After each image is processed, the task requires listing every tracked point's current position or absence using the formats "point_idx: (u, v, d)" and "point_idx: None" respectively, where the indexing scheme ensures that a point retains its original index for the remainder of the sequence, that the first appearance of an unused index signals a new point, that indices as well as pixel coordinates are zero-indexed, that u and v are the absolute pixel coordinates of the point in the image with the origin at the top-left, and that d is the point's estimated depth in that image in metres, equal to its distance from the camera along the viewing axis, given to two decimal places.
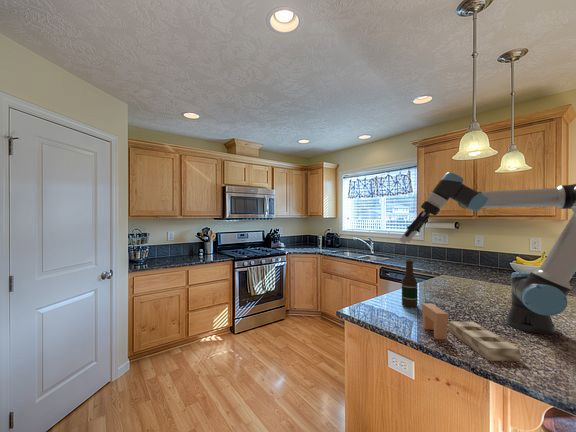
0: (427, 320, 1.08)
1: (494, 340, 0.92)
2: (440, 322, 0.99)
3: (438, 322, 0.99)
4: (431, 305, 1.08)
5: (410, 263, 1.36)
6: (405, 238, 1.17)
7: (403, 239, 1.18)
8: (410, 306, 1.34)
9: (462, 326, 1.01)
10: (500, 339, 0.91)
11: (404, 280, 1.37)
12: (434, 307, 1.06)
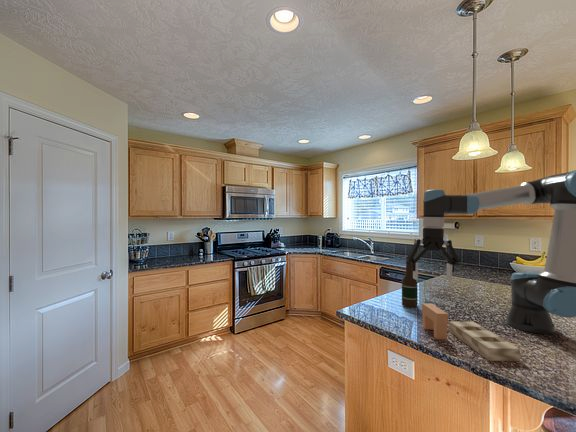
0: (427, 320, 1.08)
1: (494, 340, 0.92)
2: (440, 322, 0.99)
3: (438, 322, 0.99)
4: (431, 305, 1.08)
5: (410, 263, 1.36)
6: (414, 273, 1.06)
7: (414, 275, 1.06)
8: (410, 306, 1.34)
9: (462, 326, 1.01)
10: (500, 339, 0.91)
11: (404, 280, 1.37)
12: (434, 307, 1.06)
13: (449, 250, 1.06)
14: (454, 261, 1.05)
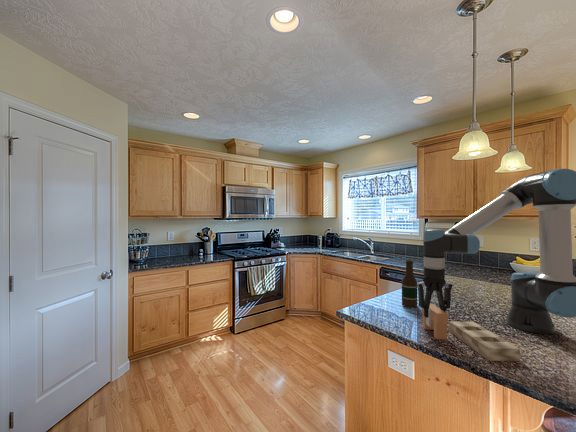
0: None
1: (494, 340, 0.92)
2: (440, 322, 0.99)
3: (438, 322, 0.99)
4: (431, 305, 1.08)
5: (410, 263, 1.36)
6: (427, 320, 1.05)
7: (427, 321, 1.05)
8: (410, 306, 1.34)
9: (462, 326, 1.01)
10: (500, 339, 0.91)
11: (404, 280, 1.37)
12: (434, 307, 1.06)
13: (445, 293, 1.05)
14: (445, 306, 1.04)
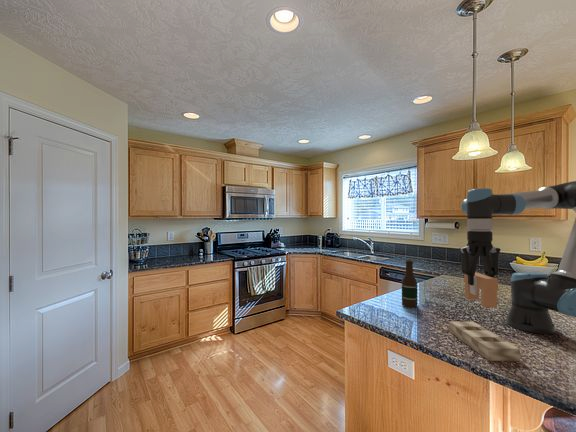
0: None
1: (494, 340, 0.92)
2: (489, 288, 0.90)
3: (487, 288, 0.90)
4: (475, 273, 0.99)
5: (410, 263, 1.36)
6: (472, 288, 0.96)
7: (472, 289, 0.96)
8: (410, 306, 1.34)
9: (462, 326, 1.01)
10: (500, 339, 0.91)
11: (404, 280, 1.37)
12: (479, 274, 0.97)
13: (492, 259, 0.96)
14: None
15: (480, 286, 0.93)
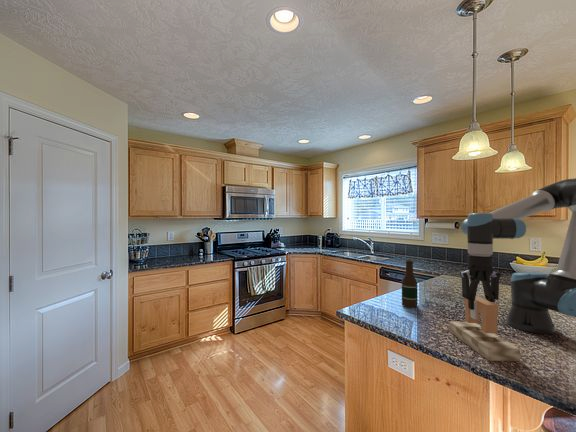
0: None
1: (494, 340, 0.92)
2: (490, 314, 0.90)
3: (488, 314, 0.90)
4: None
5: (410, 263, 1.36)
6: (473, 312, 0.95)
7: (472, 314, 0.96)
8: (410, 306, 1.34)
9: (462, 326, 1.01)
10: (500, 339, 0.91)
11: (404, 280, 1.37)
12: (480, 298, 0.97)
13: (493, 283, 0.95)
14: None
15: (480, 311, 0.92)
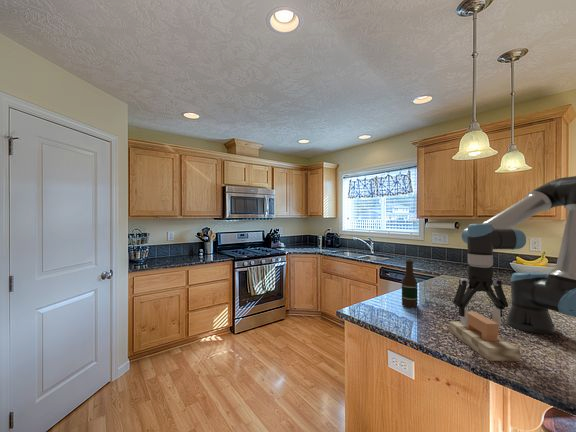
0: (471, 329, 0.99)
1: None
2: (490, 333, 0.90)
3: (488, 333, 0.90)
4: (475, 313, 0.99)
5: (410, 263, 1.36)
6: (463, 319, 0.96)
7: (463, 321, 0.96)
8: (410, 306, 1.34)
9: (462, 326, 1.01)
10: (500, 339, 0.91)
11: (404, 280, 1.37)
12: (480, 316, 0.96)
13: (497, 291, 0.95)
14: (502, 305, 0.95)
15: (481, 329, 0.92)
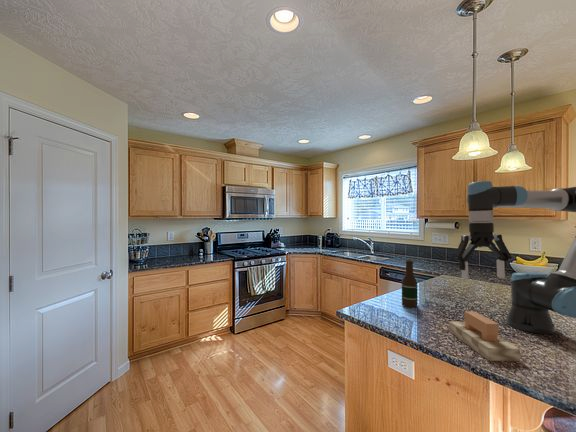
0: (471, 329, 0.99)
1: None
2: (490, 333, 0.90)
3: (488, 333, 0.90)
4: (475, 313, 0.99)
5: (410, 263, 1.36)
6: (464, 273, 0.98)
7: (463, 274, 0.99)
8: (410, 306, 1.34)
9: (462, 326, 1.01)
10: (500, 339, 0.91)
11: (404, 280, 1.37)
12: (480, 316, 0.96)
13: (499, 245, 0.99)
14: (505, 257, 0.98)
15: (481, 329, 0.92)
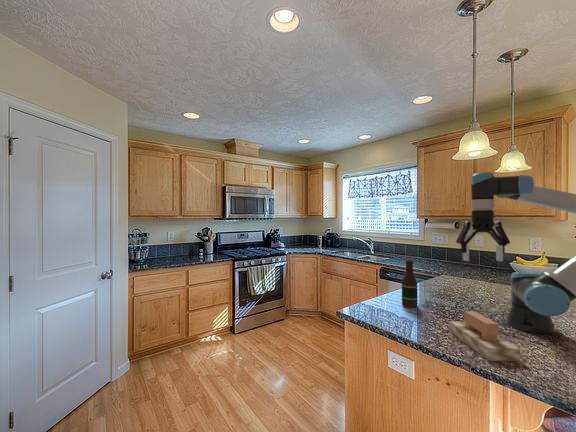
0: (471, 329, 0.99)
1: None
2: (490, 333, 0.90)
3: (488, 333, 0.90)
4: (475, 313, 0.99)
5: (410, 263, 1.36)
6: (465, 255, 1.08)
7: (465, 257, 1.09)
8: (410, 306, 1.34)
9: (462, 326, 1.01)
10: (500, 339, 0.91)
11: (404, 280, 1.37)
12: (480, 316, 0.96)
13: (499, 231, 1.08)
14: (504, 242, 1.07)
15: (481, 329, 0.92)
